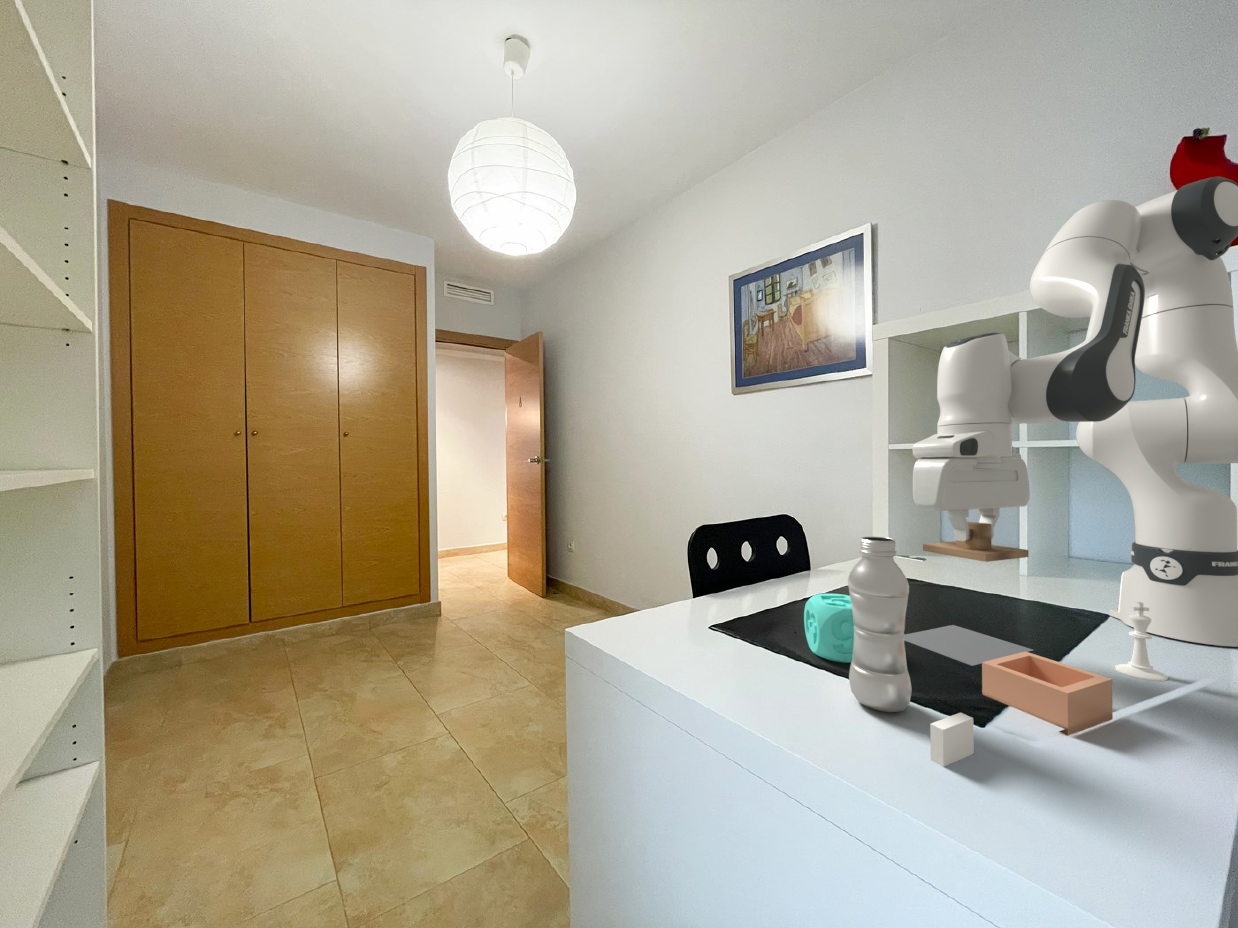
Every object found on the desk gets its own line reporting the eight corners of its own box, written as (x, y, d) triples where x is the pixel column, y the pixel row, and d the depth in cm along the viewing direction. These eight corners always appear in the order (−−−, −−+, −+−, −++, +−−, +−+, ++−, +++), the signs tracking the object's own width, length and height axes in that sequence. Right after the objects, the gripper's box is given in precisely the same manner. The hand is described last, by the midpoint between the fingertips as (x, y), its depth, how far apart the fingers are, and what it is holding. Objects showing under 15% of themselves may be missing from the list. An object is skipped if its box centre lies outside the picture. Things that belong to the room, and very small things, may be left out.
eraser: (930, 760, 47) (930, 723, 47) (960, 747, 49) (960, 712, 49) (943, 767, 46) (943, 729, 46) (973, 754, 48) (973, 717, 48)
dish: (1025, 686, 62) (1025, 651, 62) (1112, 718, 54) (1112, 678, 54) (982, 698, 59) (982, 662, 59) (1067, 735, 51) (1067, 693, 51)
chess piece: (1180, 687, 61) (1179, 608, 61) (1134, 684, 62) (1133, 607, 62) (1146, 670, 66) (1146, 598, 66) (1104, 667, 67) (1103, 596, 67)
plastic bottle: (889, 725, 53) (888, 545, 53) (836, 699, 59) (835, 537, 59) (924, 711, 56) (922, 540, 56) (870, 687, 62) (869, 533, 62)
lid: (963, 546, 76) (963, 518, 76) (1028, 556, 68) (1028, 525, 68) (922, 550, 73) (922, 521, 73) (985, 561, 65) (985, 528, 65)
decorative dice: (855, 643, 77) (854, 593, 77) (877, 664, 69) (876, 608, 69) (804, 641, 78) (803, 592, 78) (819, 662, 70) (819, 607, 70)
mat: (953, 628, 83) (953, 624, 83) (1034, 653, 72) (1034, 649, 72) (894, 640, 78) (894, 636, 78) (972, 669, 67) (972, 665, 67)
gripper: (996, 446, 77) (997, 532, 77) (903, 445, 70) (904, 540, 70) (1043, 445, 71) (1043, 538, 71) (946, 443, 64) (947, 547, 64)
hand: (973, 539), depth 71 cm, fingers closed on lid, 3 cm apart
